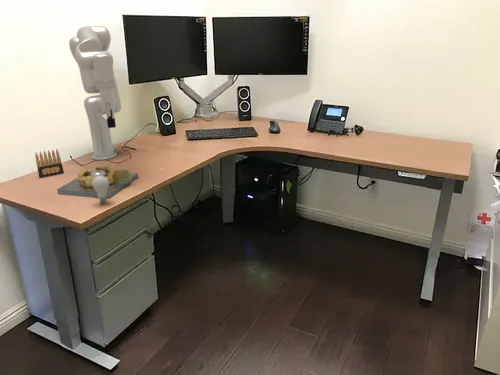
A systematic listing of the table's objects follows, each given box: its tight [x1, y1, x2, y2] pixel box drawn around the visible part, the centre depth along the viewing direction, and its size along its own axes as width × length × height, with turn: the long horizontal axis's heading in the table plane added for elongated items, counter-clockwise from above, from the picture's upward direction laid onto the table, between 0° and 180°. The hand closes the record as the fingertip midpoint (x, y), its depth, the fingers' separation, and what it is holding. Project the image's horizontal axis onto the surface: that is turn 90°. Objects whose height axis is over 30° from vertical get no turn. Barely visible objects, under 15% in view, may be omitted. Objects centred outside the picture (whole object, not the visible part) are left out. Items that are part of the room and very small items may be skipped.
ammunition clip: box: [34, 148, 65, 179], centre depth 194 cm, size 11×2×12 cm, turn 123°
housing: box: [56, 170, 139, 199], centre depth 182 cm, size 24×25×6 cm
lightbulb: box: [92, 176, 109, 203], centre depth 164 cm, size 6×6×11 cm
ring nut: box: [77, 165, 131, 187], centre depth 181 cm, size 21×15×5 cm
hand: (111, 127), depth 183 cm, fingers closed
